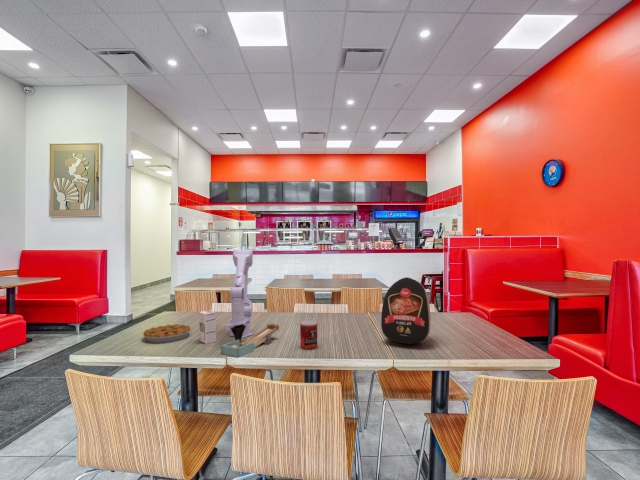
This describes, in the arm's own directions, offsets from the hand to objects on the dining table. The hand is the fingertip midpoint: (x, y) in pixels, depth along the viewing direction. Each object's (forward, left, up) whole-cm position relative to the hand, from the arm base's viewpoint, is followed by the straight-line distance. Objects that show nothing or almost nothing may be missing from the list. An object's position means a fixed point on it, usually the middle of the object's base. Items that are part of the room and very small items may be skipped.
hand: (238, 341), depth 149 cm
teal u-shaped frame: (+8, -8, -1) cm, 11 cm away
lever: (+4, +8, +1) cm, 9 cm away
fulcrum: (+8, +8, -1) cm, 11 cm away
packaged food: (+67, +41, -2) cm, 79 cm away
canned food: (+31, +13, -2) cm, 34 cm away
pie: (-40, -9, -2) cm, 41 cm away
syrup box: (-16, -4, -2) cm, 17 cm away
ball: (+8, -10, 0) cm, 13 cm away
